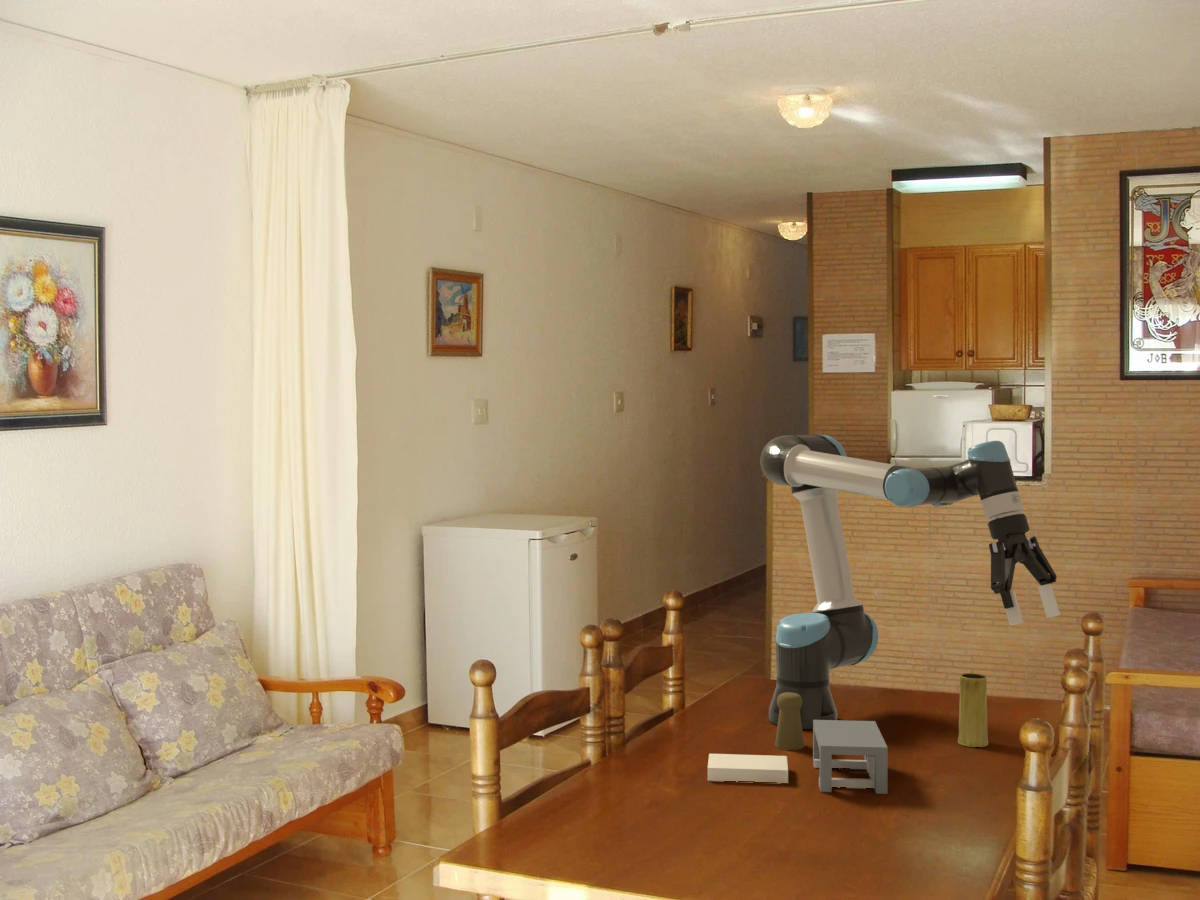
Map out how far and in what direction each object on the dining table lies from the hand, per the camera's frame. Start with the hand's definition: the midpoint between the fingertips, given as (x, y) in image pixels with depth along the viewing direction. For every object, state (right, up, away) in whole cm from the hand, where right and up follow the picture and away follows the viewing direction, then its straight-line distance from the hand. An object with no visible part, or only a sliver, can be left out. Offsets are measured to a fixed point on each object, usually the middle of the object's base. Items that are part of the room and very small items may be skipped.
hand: (1035, 620), depth 234 cm
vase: (-9, -28, +12) cm, 31 cm away
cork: (-47, -28, +11) cm, 56 cm away
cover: (-58, -29, -8) cm, 65 cm away
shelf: (-39, -28, -10) cm, 49 cm away
